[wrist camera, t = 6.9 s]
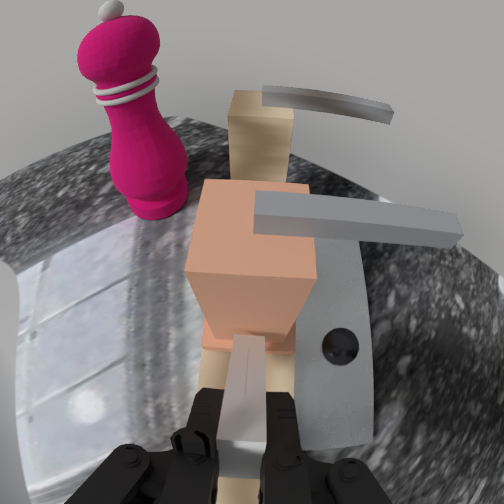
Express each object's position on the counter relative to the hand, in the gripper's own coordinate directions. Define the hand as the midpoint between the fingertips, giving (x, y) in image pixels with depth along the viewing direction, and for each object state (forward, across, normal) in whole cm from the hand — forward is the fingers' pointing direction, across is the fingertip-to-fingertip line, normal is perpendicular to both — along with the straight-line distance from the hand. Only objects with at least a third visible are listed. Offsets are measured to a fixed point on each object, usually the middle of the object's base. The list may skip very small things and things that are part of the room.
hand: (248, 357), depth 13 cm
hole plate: (+7, -6, +1) cm, 9 cm away
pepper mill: (+15, +10, -7) cm, 19 cm away
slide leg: (+5, -3, 0) cm, 5 cm away
